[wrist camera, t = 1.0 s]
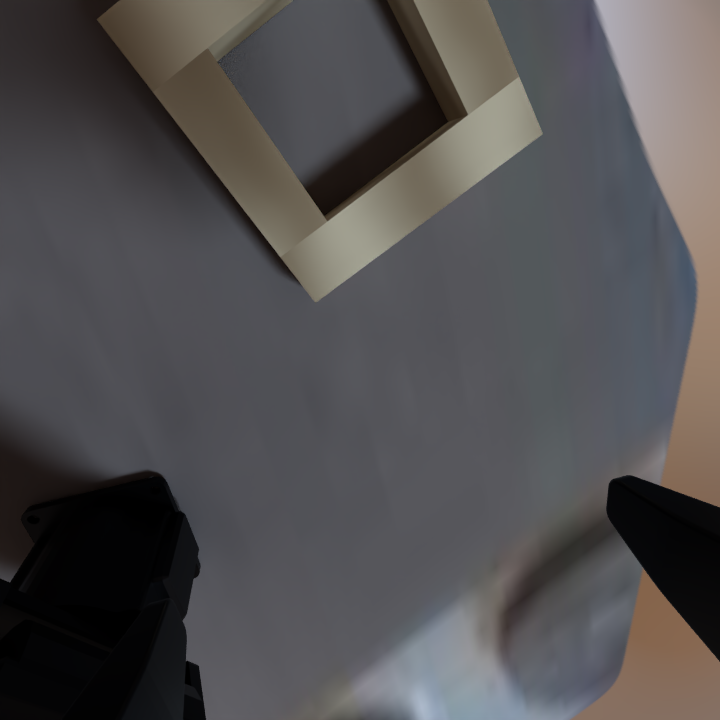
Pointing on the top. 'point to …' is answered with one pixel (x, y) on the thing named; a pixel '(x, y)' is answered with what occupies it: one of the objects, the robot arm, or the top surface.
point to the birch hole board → (268, 167)
